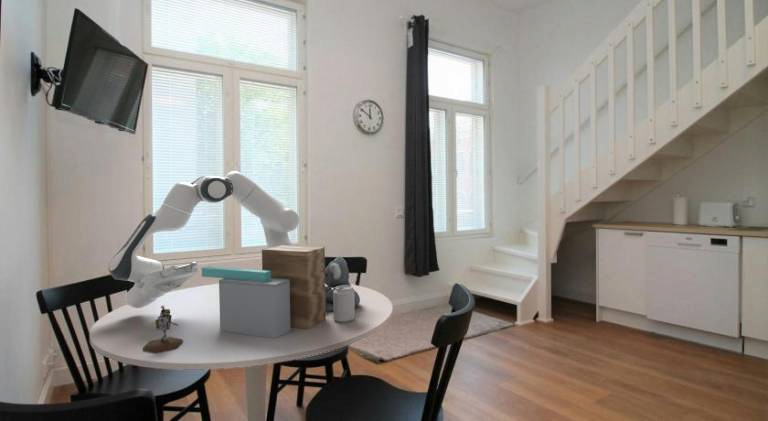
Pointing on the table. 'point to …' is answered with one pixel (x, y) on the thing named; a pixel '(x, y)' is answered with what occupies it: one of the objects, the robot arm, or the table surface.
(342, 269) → the koala plush
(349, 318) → the can
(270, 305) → the low stand
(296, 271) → the tall wooden block
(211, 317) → the table surface
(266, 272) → the teal bar
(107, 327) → the table surface
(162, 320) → the robot figurine
